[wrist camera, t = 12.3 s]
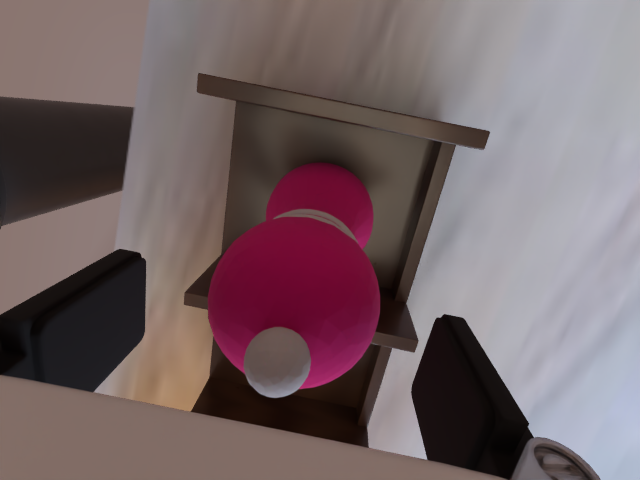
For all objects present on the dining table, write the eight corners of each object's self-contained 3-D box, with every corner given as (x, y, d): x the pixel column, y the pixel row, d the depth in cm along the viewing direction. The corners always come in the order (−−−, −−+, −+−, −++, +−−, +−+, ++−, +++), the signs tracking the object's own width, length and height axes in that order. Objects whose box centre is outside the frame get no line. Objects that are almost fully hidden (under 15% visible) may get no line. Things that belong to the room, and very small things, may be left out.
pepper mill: (387, 186, 26) (490, 345, 7) (340, 260, 28) (327, 526, 10) (305, 139, 26) (187, 181, 7) (264, 218, 28) (91, 417, 9)
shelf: (219, 365, 37) (175, 447, 27) (248, 90, 28) (197, 72, 18) (362, 395, 37) (368, 488, 27) (441, 128, 27) (490, 131, 18)
